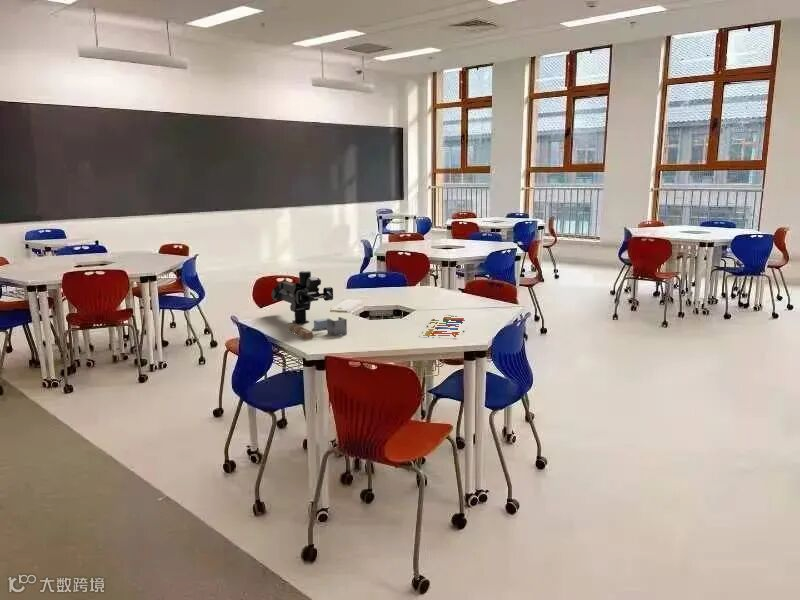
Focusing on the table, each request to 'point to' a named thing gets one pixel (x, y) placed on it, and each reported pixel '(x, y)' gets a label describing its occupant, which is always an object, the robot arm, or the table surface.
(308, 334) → the rail
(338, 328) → the cup bracket
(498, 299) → the table surface
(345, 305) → the baseboard
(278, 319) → the table surface
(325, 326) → the support post
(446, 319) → the multicolored flat board
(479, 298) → the table surface
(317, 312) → the table surface
